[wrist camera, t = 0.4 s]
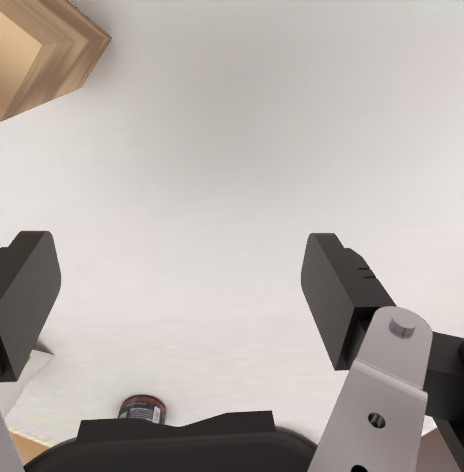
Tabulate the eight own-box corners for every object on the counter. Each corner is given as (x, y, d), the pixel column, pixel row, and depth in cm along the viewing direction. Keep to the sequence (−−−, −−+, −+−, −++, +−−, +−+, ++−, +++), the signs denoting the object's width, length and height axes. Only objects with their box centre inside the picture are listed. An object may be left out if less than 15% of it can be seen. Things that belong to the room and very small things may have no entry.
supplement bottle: (159, 426, 50) (143, 523, 40) (116, 416, 49) (89, 514, 39) (172, 399, 48) (159, 496, 38) (127, 389, 46) (101, 486, 37)
